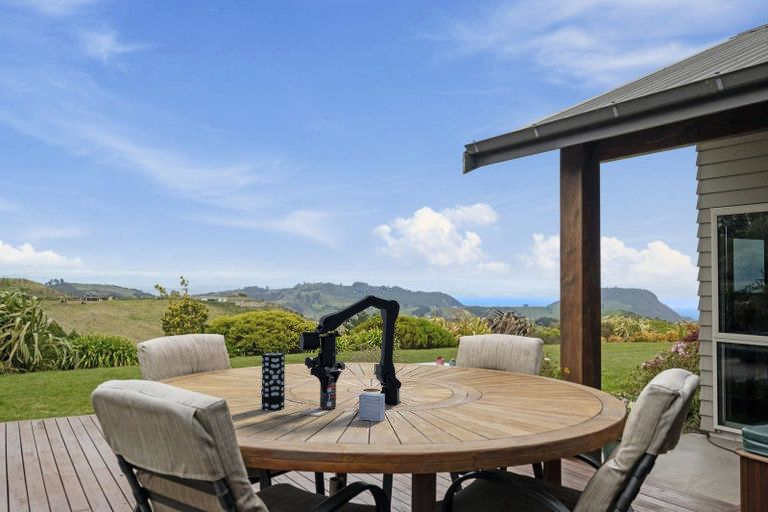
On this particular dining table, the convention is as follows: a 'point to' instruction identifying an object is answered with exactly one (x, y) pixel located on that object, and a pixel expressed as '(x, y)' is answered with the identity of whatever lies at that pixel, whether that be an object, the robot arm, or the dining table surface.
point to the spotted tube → (273, 381)
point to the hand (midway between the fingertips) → (328, 391)
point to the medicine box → (372, 406)
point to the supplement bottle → (328, 396)
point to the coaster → (313, 412)
